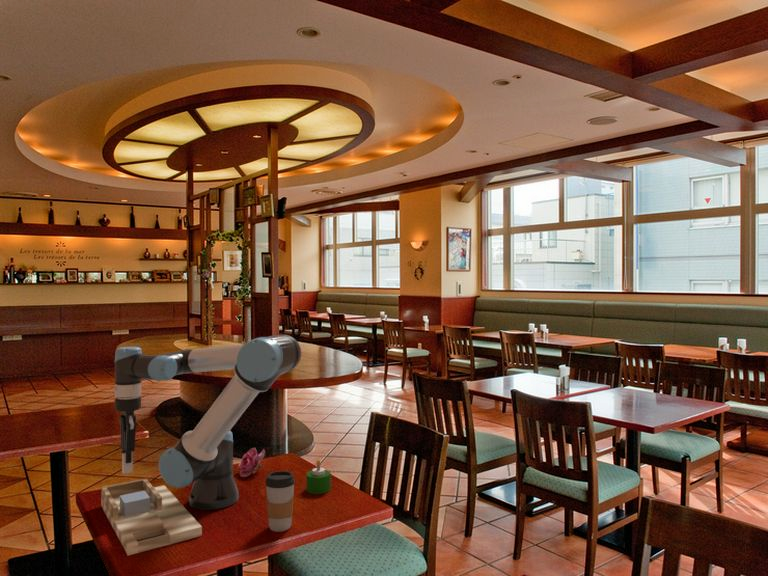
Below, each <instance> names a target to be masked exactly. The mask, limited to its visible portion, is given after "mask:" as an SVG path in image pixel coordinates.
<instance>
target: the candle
mask: <svg viewBox="0 0 768 576" xmlns="http://www.w3.org/2000/svg"><path fill="white" fill-rule="evenodd" d="M321 463H322V462H321V460H319V459H318V460H317V461H316V464H315V465H316V467H315V468H312V469H311V470H309V471H307V472H306V474H305V475H306V477H305V478H306V482H305V483H306V484H305V485H306V486H305V489H306V492H307V493H309V494H312V495H323V494H327V493H329V492H330V491H331V489H332V488H331V487H332V484H331V483H332V478H331V477H332V475H331V474H332V473H331V471H330V470H328V469H325V468H324V467H321V465H322V464H321Z"/></svg>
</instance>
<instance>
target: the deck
mask: <svg viewBox="0 0 768 576" xmlns="http://www.w3.org/2000/svg"><path fill="white" fill-rule="evenodd" d="M140 491H145V492H146V493H147V494H148V495H149V497H150V511H149V512H144V513H140V514H136V515H131V516H127V517H124V515H123V513H122V512H121V510H120V496H121V495H125V494H130V493H135V492H140ZM100 495H101V496H100V497H101V508H102V509H103V512H104V514H105V515H106V517H107V519H108V521H109V523H110V525H111V527H112V529H113V530H114V532H115V534H116V536H117V538H118V540H119V542H120V543H121V546H122V547H123V550H124V551H125V553H126V555H127V556H131V555H135V554H139V553H143V552H146V551H151V550H154V549H157V548H161V547H165V546H169V545H173V544H176V543H180V542H183V541H187V540H191V539H194V538H198V537H202V536H203V527H202V525H201V524H200V522H198V521H197V520H196V518H195V517H194V516H193V515H192V514H191V513H190V512H189V510H187V509H186V508H185V506H184V505H183V504H182V503H181V502H180V501H179V500H178V498H176V496H175V495H174V494H173V493H172V492H171V490H170V489H168V488H167V486H166V485H165V484H164V485H158V486H153V485H152V483H150V481H149V480H148V479H147V478H146V477H145V478H142V479H135V480H130V481H126V482H125V481H124V482H121V483H116V484H110V485H105V486H101V493H100Z"/></svg>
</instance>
